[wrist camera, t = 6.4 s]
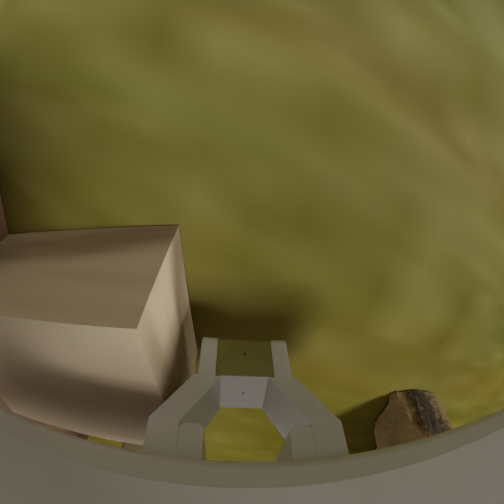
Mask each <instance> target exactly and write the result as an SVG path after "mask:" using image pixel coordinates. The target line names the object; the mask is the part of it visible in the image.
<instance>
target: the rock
mask: <svg viewBox="0 0 504 504" xmlns="http://www.w3.org/2000/svg"><path fill="white" fill-rule="evenodd" d="M451 429H452V426H451V424H450V422H449V420H448V417H447V415H446V413H445V411H444V409H443V407H442V405H441V404H440V402H439V400H438V398H437V397H436V395H435V394H433V393H430V392H426V391H421V390H407V391H403V392H398V391H395V392H393V393H391V394H390V395H389V403H388V405H387V406H386V408H385V409H384V412H382V413H381V415H380V416H379V418H378V420H377V421H376V422H375V429H374V433H375V435H374V436H375V437H376V440H375V442H376V445H377V448H376V449H375V450H377V449H382V448H387V447H391V446H395V445H400V444H404V443H408V442H412V441H415V440H419V439H423V438H426V437H429V436H433V435H436V434H439V433H442V432H445V431H448V430H451Z"/></svg>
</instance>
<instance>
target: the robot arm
mask: <svg viewBox="0 0 504 504" xmlns="http://www.w3.org/2000/svg"><path fill="white" fill-rule="evenodd" d="M220 407H234V408H263V411H264V412H265V414H266V415H267V416H268V418H269V419H270V420H271V422H272V423H273V424H274V426H275V427H276V428H277V430H278V431H279V432H280V434H281V435H282V436H283V438H284V439H285V442H284V444H283V446H282V449H281V451H280V453H279V455H278V457H277V461H266V462H240V461H215V460H206V452H205V442H204V429H205V428H206V426H207V425H208V424H209V422H210V421H211V420H212V418H213V417H214V416H215V415H216V413H217V412H218V411H219V409H220ZM0 504H504V409H502V410H499V411H497V412H495V413H493V414H490V415H488V416H486V417H483V418H481V419H478V420H476V421H473V422H471V423H468V424H465V425H463V426H460V427H457V428H454V429H451V430H448V431H445V432H442V433H439V434H436V435H433V436H429V437H426V438H423V439H419V440H415V441H412V442H408V443H404V444H400V445H395V446H391V447H387V448H382V449H377V450H372V451H366V452H361V453H355V454H349V452H348V448H347V443H346V439H345V435H344V431H343V427H342V422H341V421H340V420H339V419H338V418H337V417H336V416H335V415H334V414H333V413H332V412H331V411H330V410H329V409H328V408H327V407H326V406H325V405H324V404H322V403H321V402H320V401H319V400H318V399H317V398H316V397H315V396H314V395H313V394H312V393H311V392H310V391H309V390H308V389H307V388H306V387H305V386H304V385H303V384H302V383H301V382H300V381H299V380H298V379H297V378H293V377H291V371H290V364H289V358H288V352H287V346H286V342H285V341H284V340H270V341H269V340H239V339H225V338H210V337H203V339H202V345H201V352H200V361H199V369H198V374H193V375H192V376H191V377H190V378H189V379H188V380H187V381H186V382H185V383H184V384H183V385H182V386H181V387H180V388H179V389H178V390H176V391H175V392H174V393H173V394H172V395H171V396H170V397H169V398H168V399H167V400H166V401H165V402H164V403H163V404H162V405H161V406H160V407H159V408H158V409H156V410H155V411H154V412H153V413H152V414H151V415H150V416H149V418H148V423H147V428H146V432H145V438H144V443H143V448H142V452H139V451H134V450H129V449H124V448H119V447H115V446H110V445H106V444H102V443H98V442H94V441H90V440H87V439H83V438H80V437H76V436H73V435H70V434H66V433H63V432H60V431H57V430H54V429H51V428H49V427H46V426H43V425H40V424H38V423H35V422H32V421H30V420H27V419H25V418H22V417H20V416H18V415H15V414H13V413H11V412H8V411H6V410H4V409H2V408H0Z"/></svg>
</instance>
